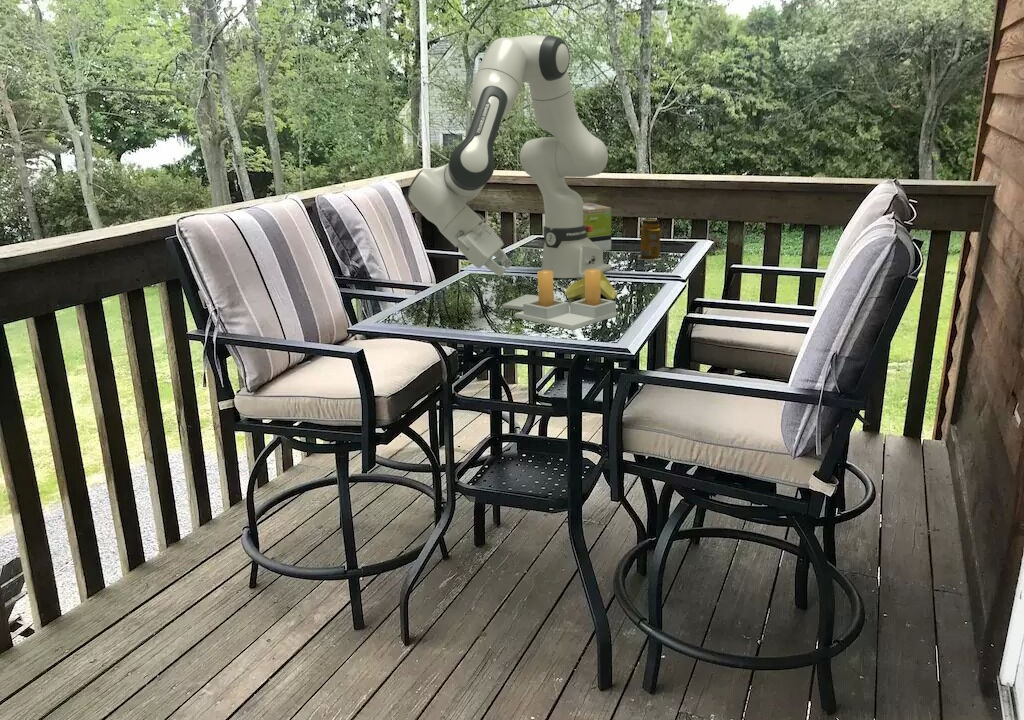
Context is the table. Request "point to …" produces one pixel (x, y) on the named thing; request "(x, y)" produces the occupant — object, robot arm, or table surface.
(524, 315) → the housing
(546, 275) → the pin
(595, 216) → the tea box
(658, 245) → the condiment
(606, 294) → the plastic component
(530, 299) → the lid
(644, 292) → the table surface
